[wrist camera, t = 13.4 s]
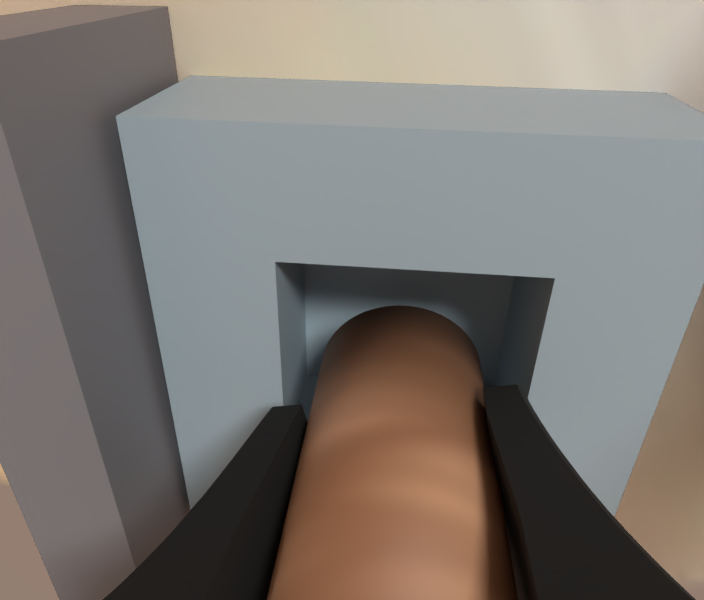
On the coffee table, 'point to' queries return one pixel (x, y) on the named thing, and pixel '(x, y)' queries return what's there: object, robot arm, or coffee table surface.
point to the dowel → (396, 471)
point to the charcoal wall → (81, 297)
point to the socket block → (418, 245)
